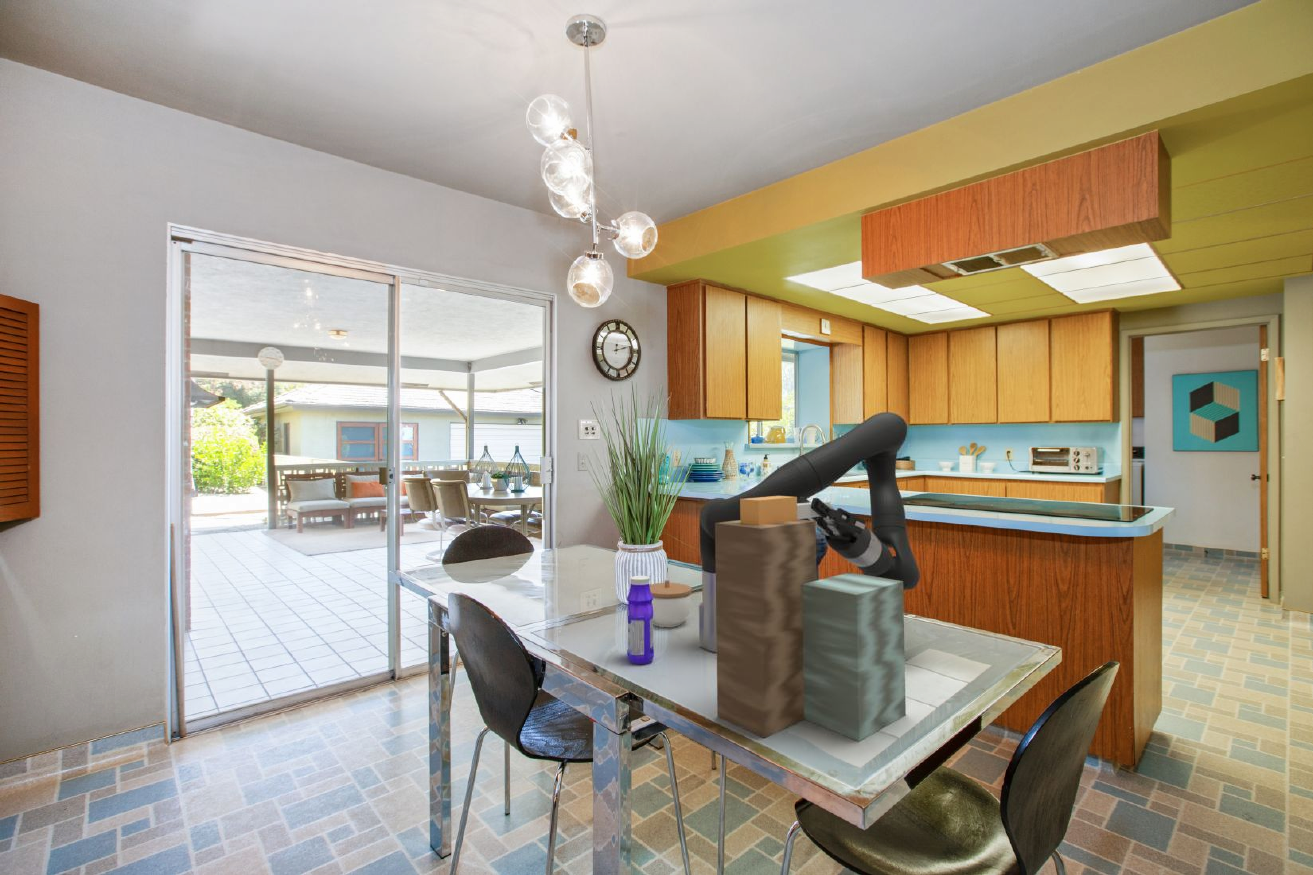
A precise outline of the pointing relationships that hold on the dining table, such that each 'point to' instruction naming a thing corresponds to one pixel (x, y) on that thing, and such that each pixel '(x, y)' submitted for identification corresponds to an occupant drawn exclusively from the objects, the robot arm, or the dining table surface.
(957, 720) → the dining table surface
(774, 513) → the white and orange block
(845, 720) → the stand
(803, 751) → the dining table surface
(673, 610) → the lidded bowl
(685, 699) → the dining table surface
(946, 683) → the dining table surface
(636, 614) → the bottle
